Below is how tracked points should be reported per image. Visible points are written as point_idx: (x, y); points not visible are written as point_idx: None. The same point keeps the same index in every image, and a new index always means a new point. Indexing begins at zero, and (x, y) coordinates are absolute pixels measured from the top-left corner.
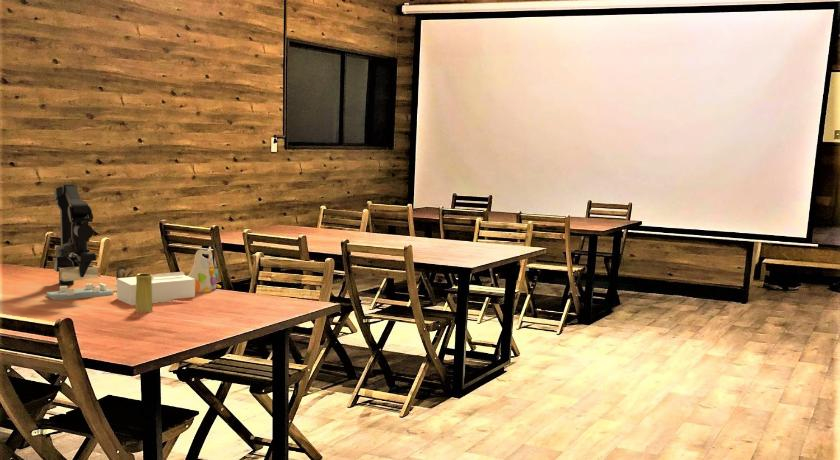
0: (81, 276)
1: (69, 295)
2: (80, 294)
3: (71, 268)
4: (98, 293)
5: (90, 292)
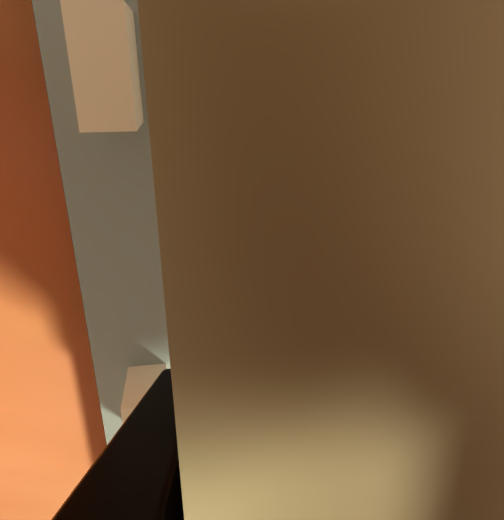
0: (161, 388)
1: (54, 35)
2: (70, 202)
3: (308, 291)
4: (100, 398)
5: (148, 338)
